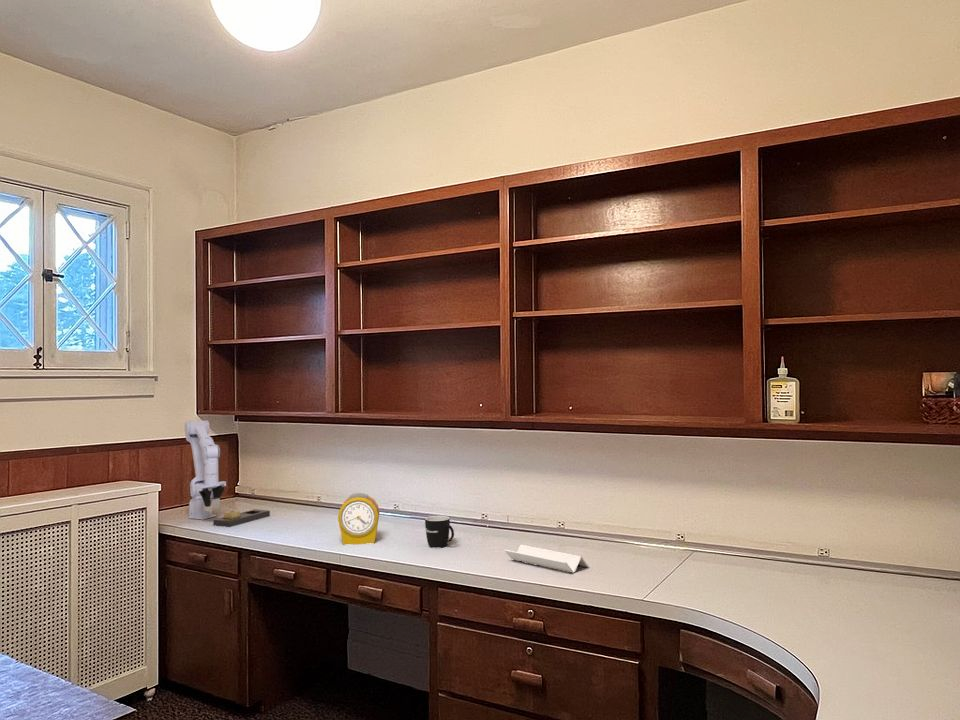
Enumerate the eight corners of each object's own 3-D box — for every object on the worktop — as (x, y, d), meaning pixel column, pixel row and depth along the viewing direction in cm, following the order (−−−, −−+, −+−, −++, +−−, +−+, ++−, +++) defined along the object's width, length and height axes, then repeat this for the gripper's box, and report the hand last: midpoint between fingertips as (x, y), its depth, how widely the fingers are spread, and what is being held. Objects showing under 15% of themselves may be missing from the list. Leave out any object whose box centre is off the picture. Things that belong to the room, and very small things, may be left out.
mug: (420, 546, 267) (420, 518, 267) (436, 541, 274) (436, 514, 275) (445, 551, 260) (445, 522, 260) (461, 546, 267) (461, 518, 267)
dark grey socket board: (213, 525, 311) (213, 519, 311) (254, 514, 333) (254, 509, 333) (229, 527, 307) (228, 521, 307) (269, 516, 328) (269, 510, 328)
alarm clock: (338, 545, 272) (337, 495, 272) (340, 540, 280) (339, 492, 280) (378, 543, 273) (377, 494, 273) (380, 538, 281) (379, 490, 281)
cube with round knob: (204, 510, 315) (204, 498, 315) (212, 508, 319) (212, 497, 319) (211, 511, 313) (211, 499, 313) (220, 509, 317) (219, 497, 317)
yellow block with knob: (224, 524, 314) (224, 512, 314) (232, 522, 318) (231, 510, 318) (231, 525, 311) (231, 513, 311) (239, 522, 315) (239, 511, 315)
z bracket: (521, 570, 250) (529, 554, 253) (581, 584, 233) (589, 567, 236) (504, 550, 244) (512, 534, 247) (565, 563, 227) (573, 545, 230)
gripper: (204, 476, 308) (205, 509, 308) (230, 471, 320) (231, 502, 320) (192, 475, 311) (193, 507, 311) (219, 470, 324) (219, 501, 324)
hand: (211, 505), depth 316 cm, fingers closed on cube with round knob, 4 cm apart
